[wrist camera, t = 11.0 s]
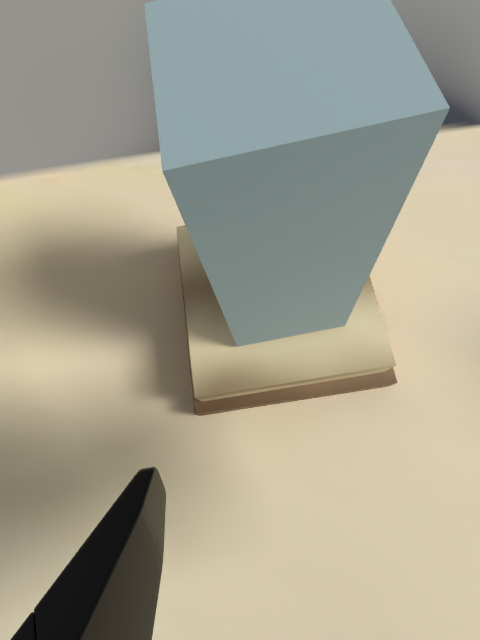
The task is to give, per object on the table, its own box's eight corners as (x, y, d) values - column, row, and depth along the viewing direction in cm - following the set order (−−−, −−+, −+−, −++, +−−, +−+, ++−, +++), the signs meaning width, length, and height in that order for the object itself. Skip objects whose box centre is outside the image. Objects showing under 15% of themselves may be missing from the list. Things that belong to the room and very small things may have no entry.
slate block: (344, 325, 18) (449, 107, 7) (237, 346, 18) (162, 170, 7) (317, 235, 20) (363, -50, 9) (221, 254, 20) (144, 3, 9)
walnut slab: (385, 387, 21) (397, 382, 19) (201, 416, 21) (194, 414, 19) (341, 228, 24) (347, 210, 22) (184, 255, 25) (177, 240, 23)
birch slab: (383, 372, 19) (395, 364, 17) (202, 401, 20) (194, 398, 18) (339, 216, 22) (345, 196, 20) (184, 244, 23) (176, 227, 21)
